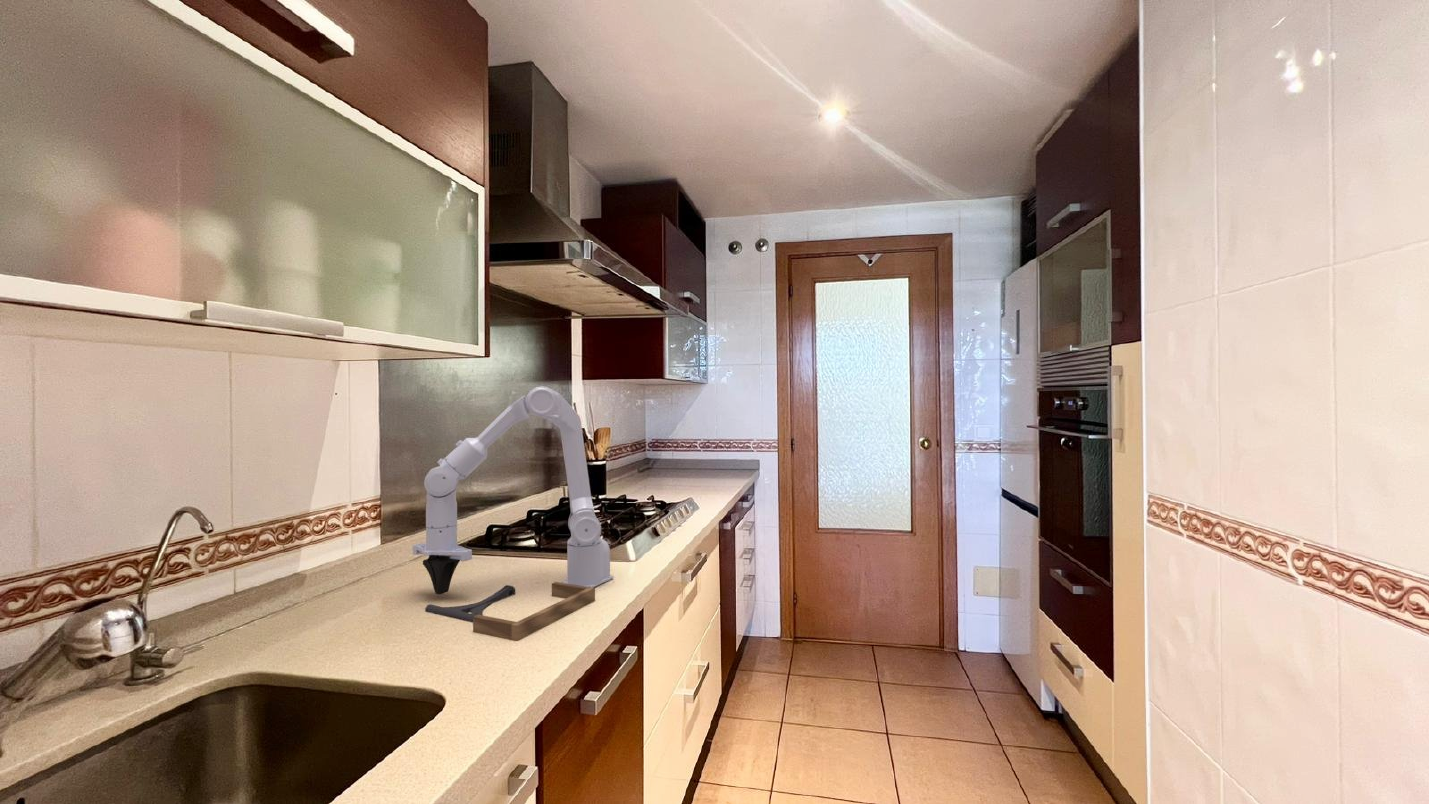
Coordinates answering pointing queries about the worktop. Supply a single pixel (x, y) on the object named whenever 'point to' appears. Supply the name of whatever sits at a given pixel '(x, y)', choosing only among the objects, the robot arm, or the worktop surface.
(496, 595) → the bracket
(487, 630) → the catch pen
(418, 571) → the worktop surface
